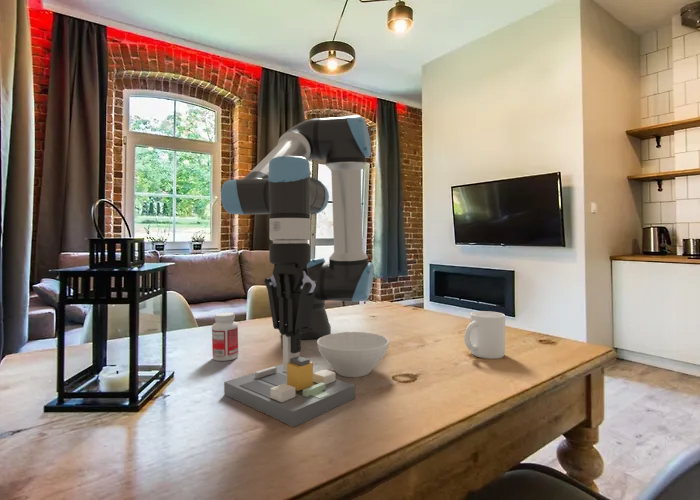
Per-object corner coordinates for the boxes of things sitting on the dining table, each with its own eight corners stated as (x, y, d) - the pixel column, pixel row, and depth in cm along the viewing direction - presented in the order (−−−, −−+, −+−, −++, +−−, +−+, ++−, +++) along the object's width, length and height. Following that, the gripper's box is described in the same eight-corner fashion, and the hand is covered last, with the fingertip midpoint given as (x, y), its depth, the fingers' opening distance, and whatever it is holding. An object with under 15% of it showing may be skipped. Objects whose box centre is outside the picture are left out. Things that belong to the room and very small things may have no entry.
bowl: (366, 390, 78) (366, 354, 78) (302, 375, 87) (302, 343, 86) (400, 367, 92) (400, 337, 91) (342, 356, 100) (342, 329, 100)
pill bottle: (237, 353, 104) (236, 311, 104) (239, 360, 98) (238, 315, 98) (212, 355, 102) (211, 312, 101) (212, 362, 96) (211, 317, 96)
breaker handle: (287, 386, 73) (286, 359, 73) (301, 381, 75) (301, 355, 75) (298, 391, 71) (297, 363, 71) (313, 385, 73) (312, 358, 73)
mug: (478, 363, 94) (478, 320, 94) (452, 355, 101) (452, 314, 101) (512, 356, 100) (512, 315, 99) (486, 348, 107) (486, 309, 107)
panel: (224, 394, 76) (224, 373, 76) (285, 374, 88) (285, 355, 87) (293, 427, 63) (292, 401, 63) (354, 398, 74) (354, 375, 74)
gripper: (252, 242, 75) (253, 366, 76) (297, 242, 67) (299, 382, 67) (283, 241, 81) (284, 357, 81) (329, 242, 72) (330, 371, 73)
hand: (291, 368), depth 74 cm, fingers closed
